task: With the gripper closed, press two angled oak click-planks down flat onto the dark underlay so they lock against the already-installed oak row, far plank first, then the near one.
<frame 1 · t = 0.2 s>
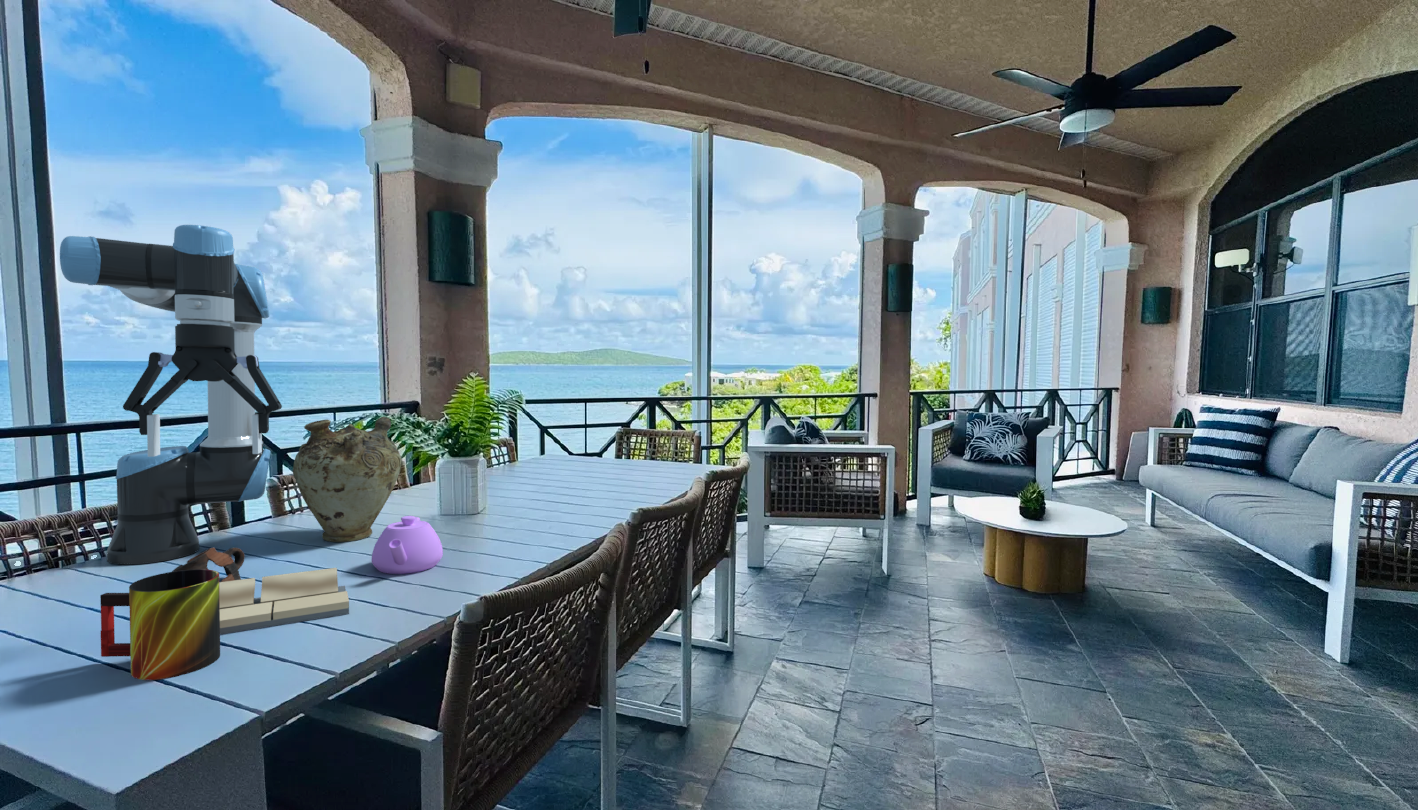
hand: (207, 454, 103), 27 cm above the table, fingers open, 13 cm apart
teapot: (407, 567, 134), on the table
floor panel: (258, 615, 106), on the table
plank near: (212, 598, 105), point 3 cm above the table, hinge at 25.0°
vase: (349, 537, 156), on the table
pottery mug: (214, 586, 120), on the table
mug: (157, 667, 88), on the table
plank far: (300, 586, 112), point 3 cm above the table, hinge at 25.0°
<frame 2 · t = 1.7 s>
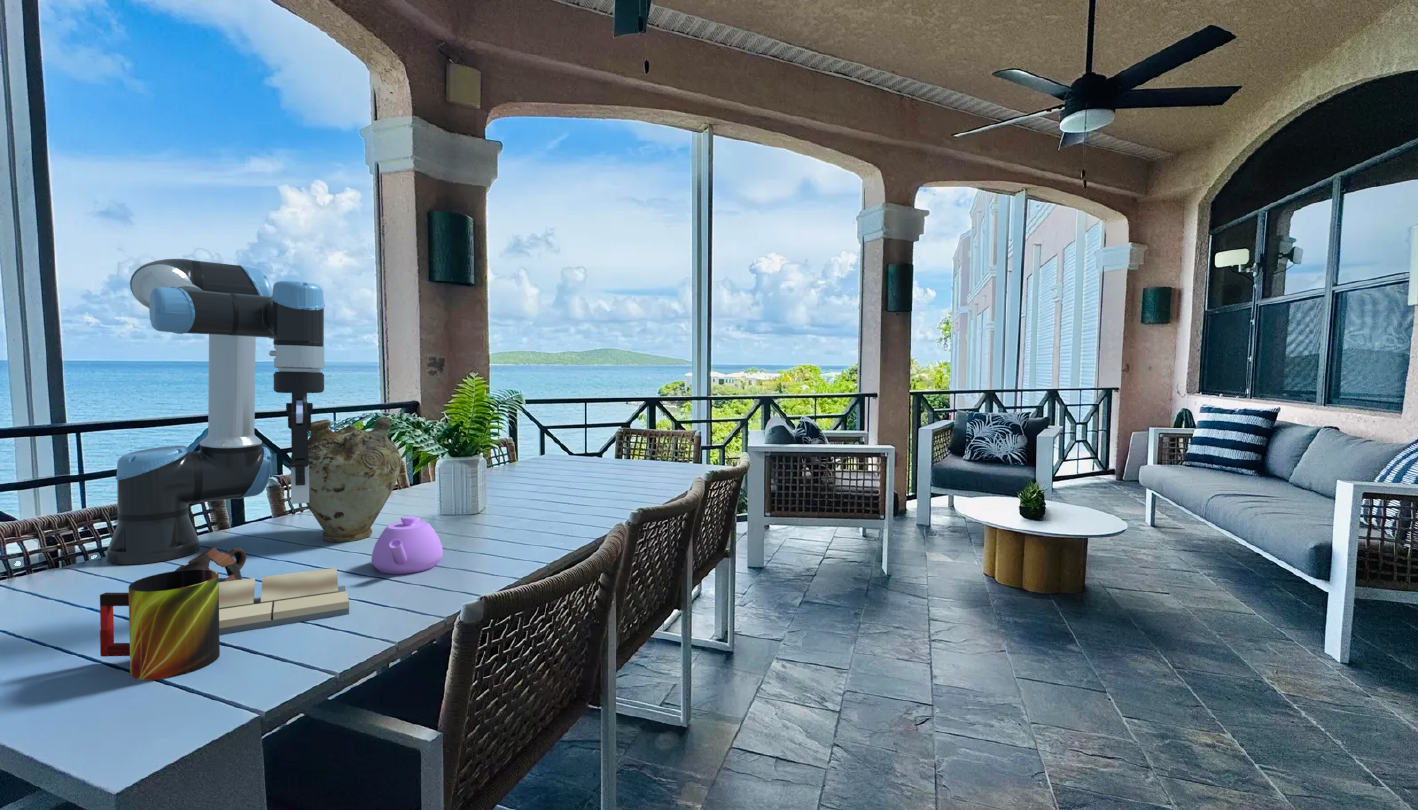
hand: (300, 502, 112), 18 cm above the table, fingers closed
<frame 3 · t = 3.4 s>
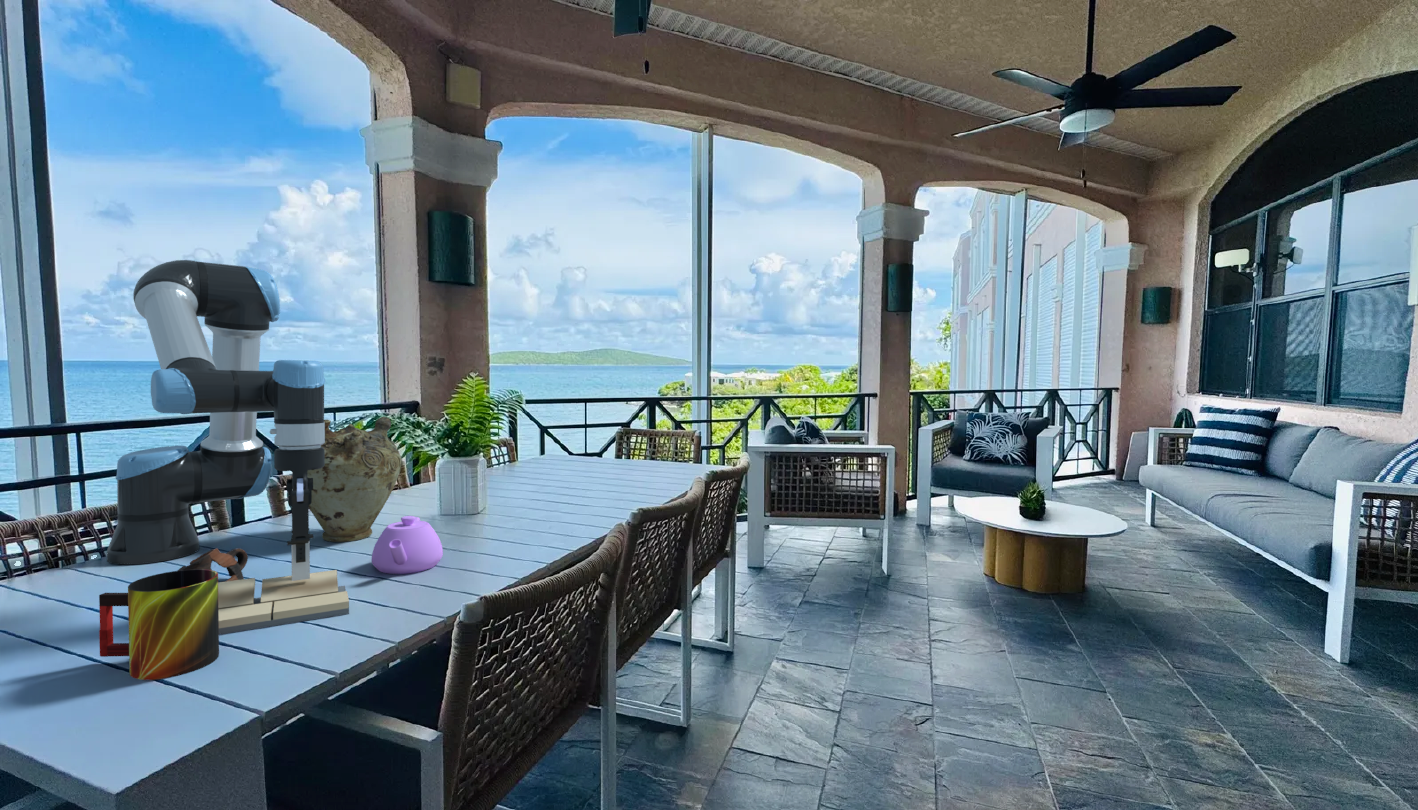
hand: (300, 577, 113), 4 cm above the table, fingers closed
plank far: (300, 587, 112), point 3 cm above the table, hinge at 20.4°, touching gripper
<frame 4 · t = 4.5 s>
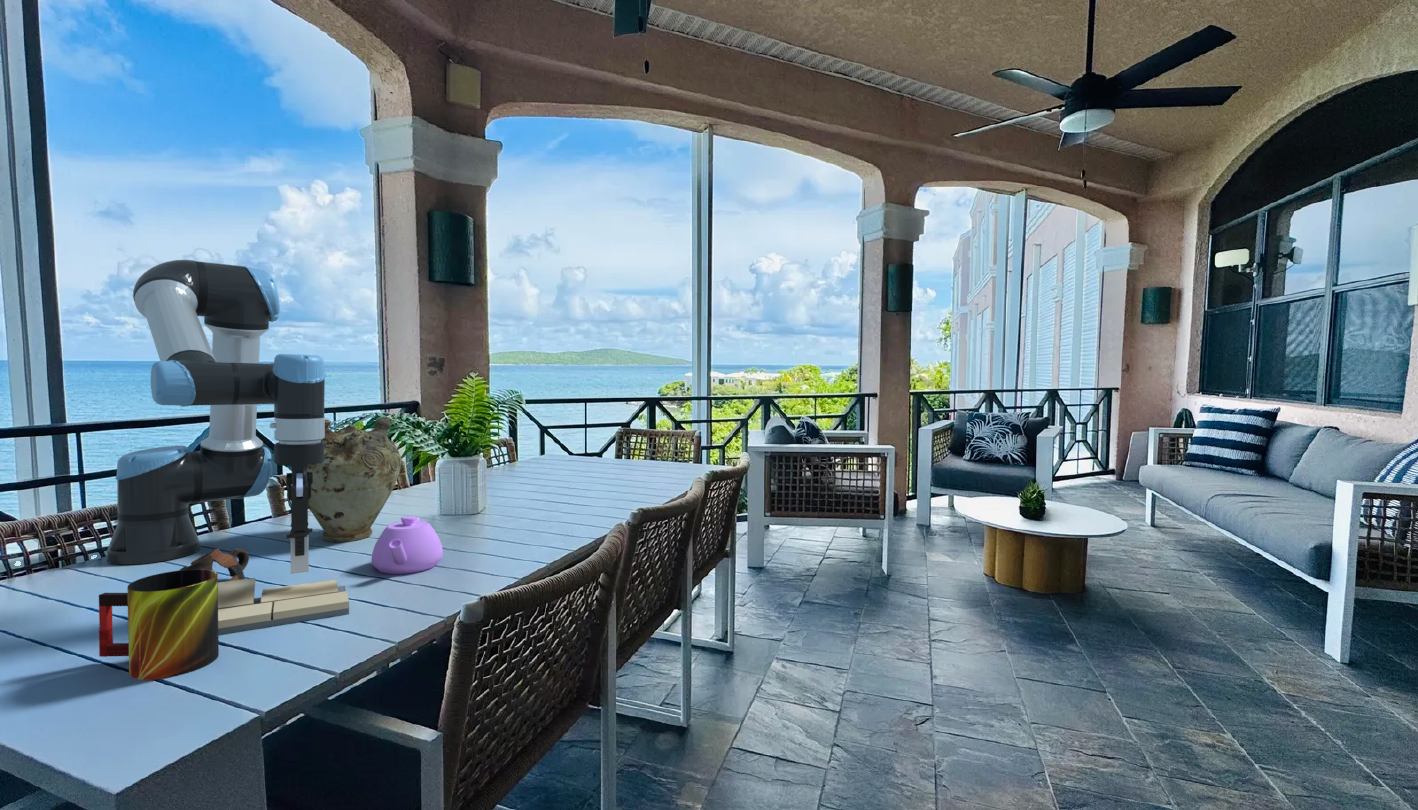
hand: (299, 571, 113), 5 cm above the table, fingers closed
plank far: (300, 593, 112), point 2 cm above the table, hinge at 3.2°
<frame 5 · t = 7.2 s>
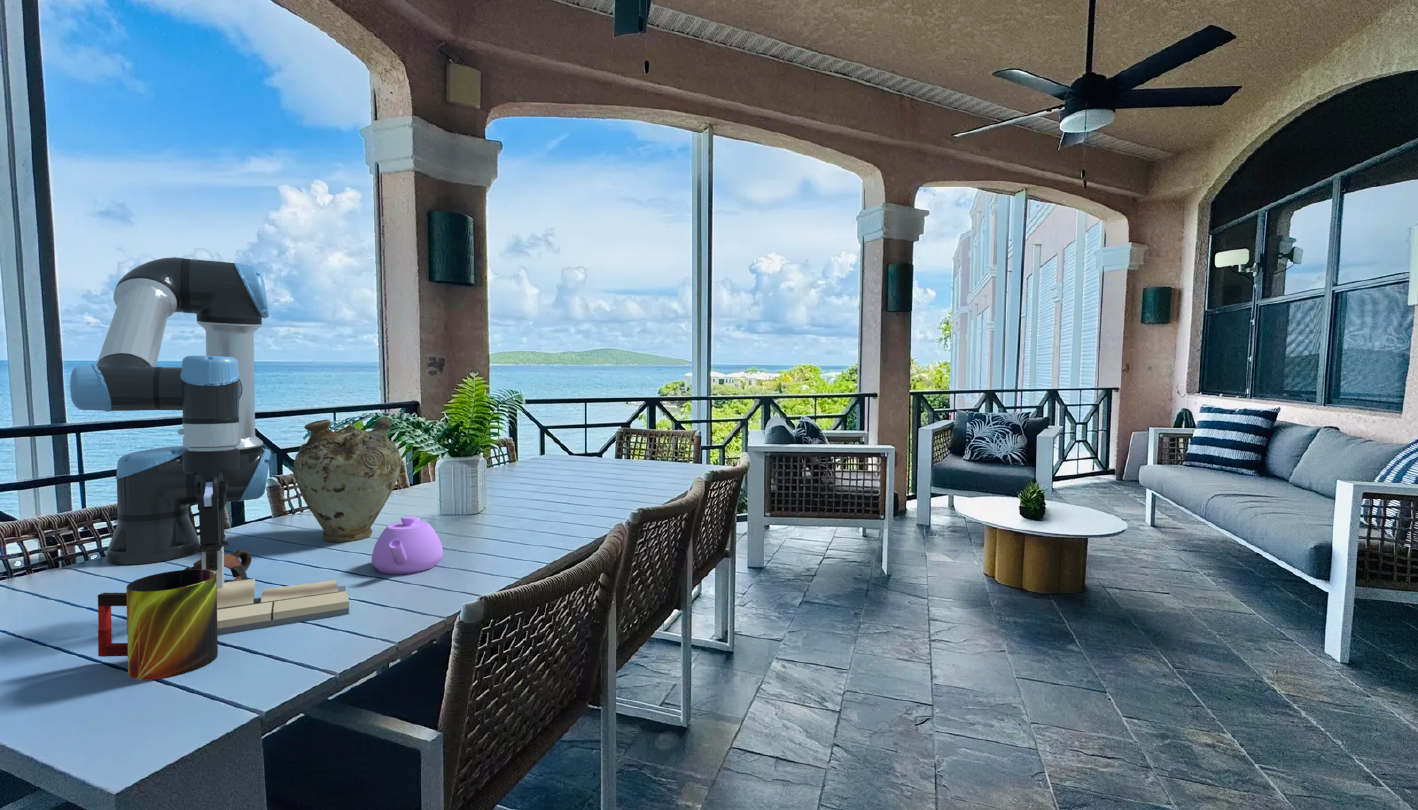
hand: (213, 587, 106), 5 cm above the table, fingers closed
plank near: (212, 599, 105), point 3 cm above the table, hinge at 23.1°, touching gripper
plank far: (300, 593, 112), point 2 cm above the table, hinge at 2.9°
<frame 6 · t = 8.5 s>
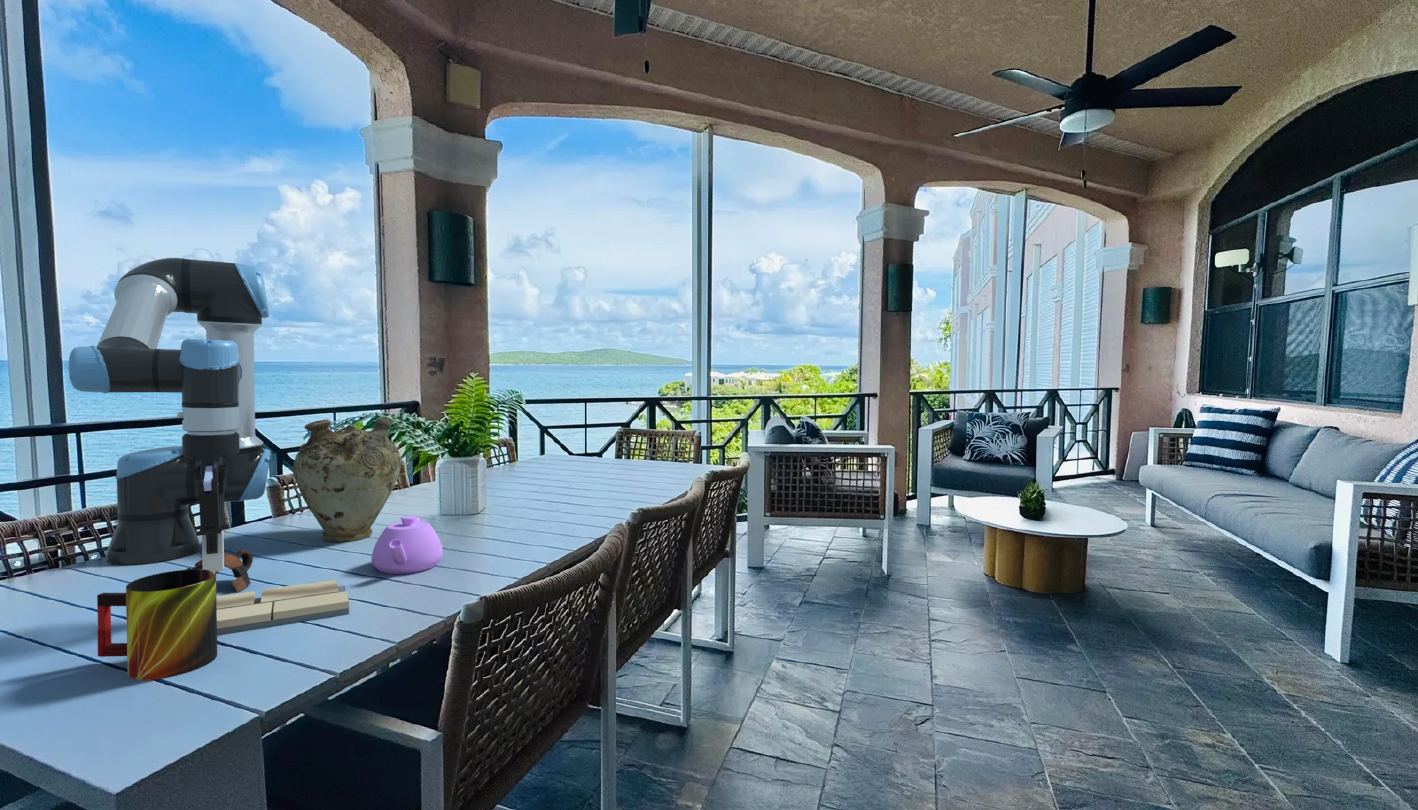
hand: (213, 570, 106), 7 cm above the table, fingers closed
plank near: (212, 606, 105), point 2 cm above the table, hinge at 1.9°
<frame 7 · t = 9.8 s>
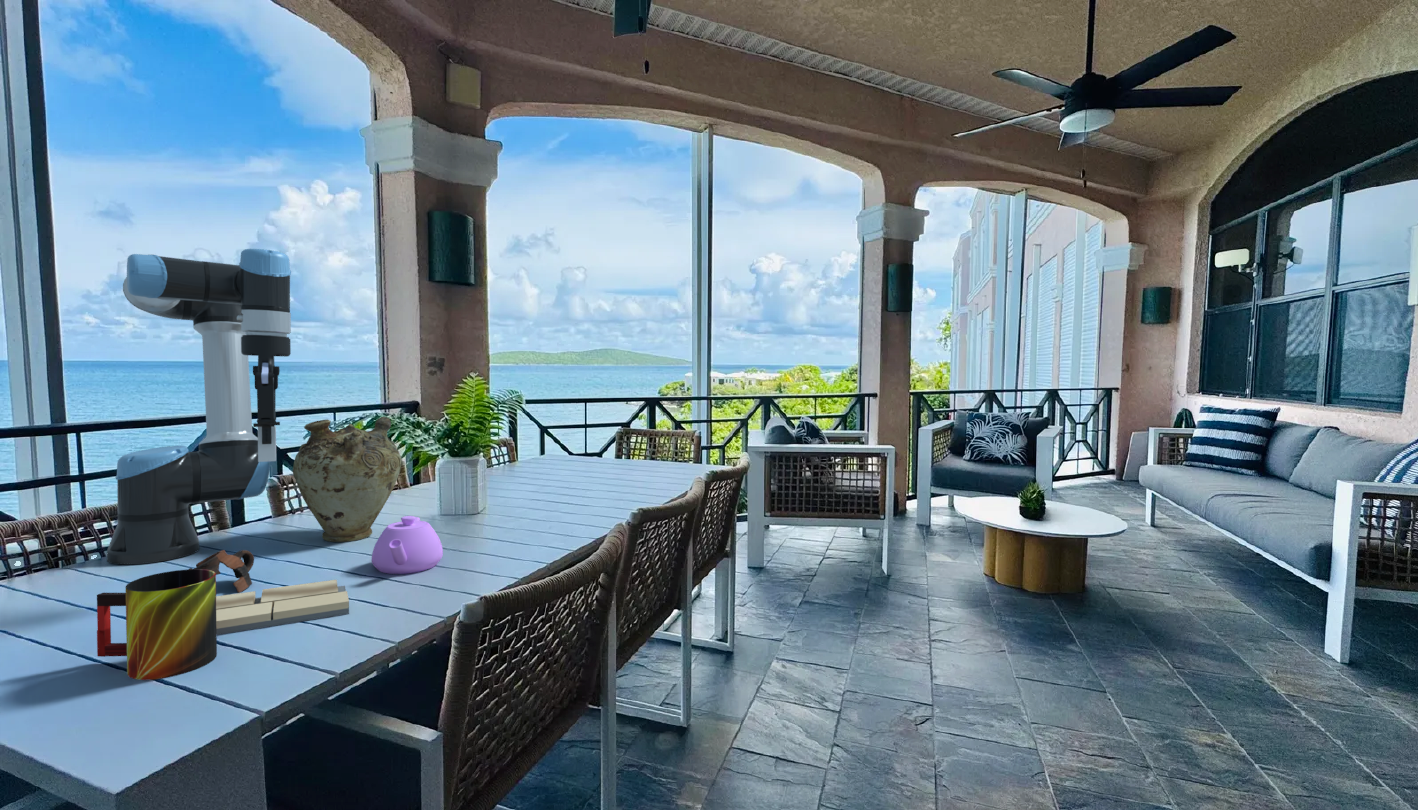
hand: (267, 460, 118), 24 cm above the table, fingers closed
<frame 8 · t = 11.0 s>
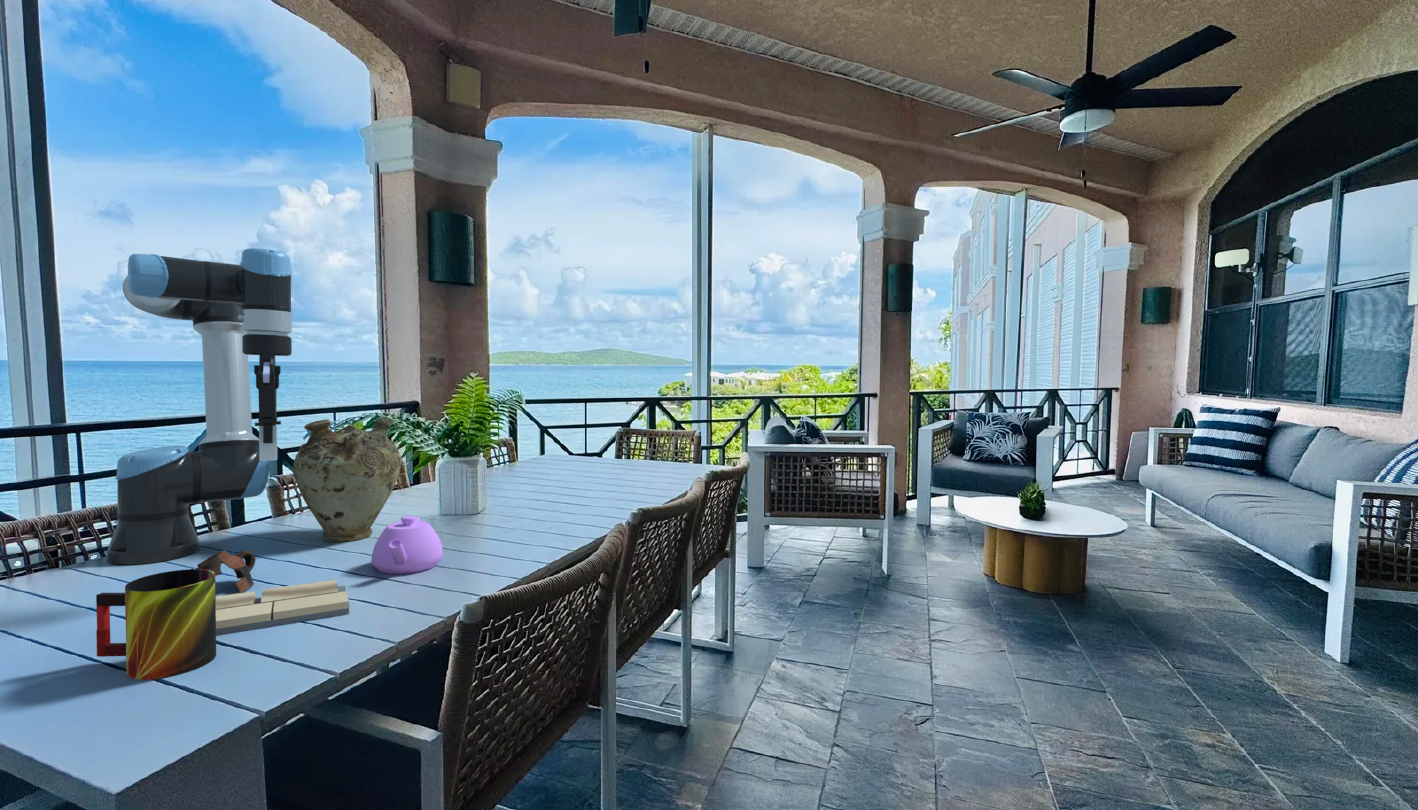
hand: (268, 460, 118), 24 cm above the table, fingers closed
at the end: plank far at +3° (first picture: +25°); plank near at +2° (first picture: +25°) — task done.
